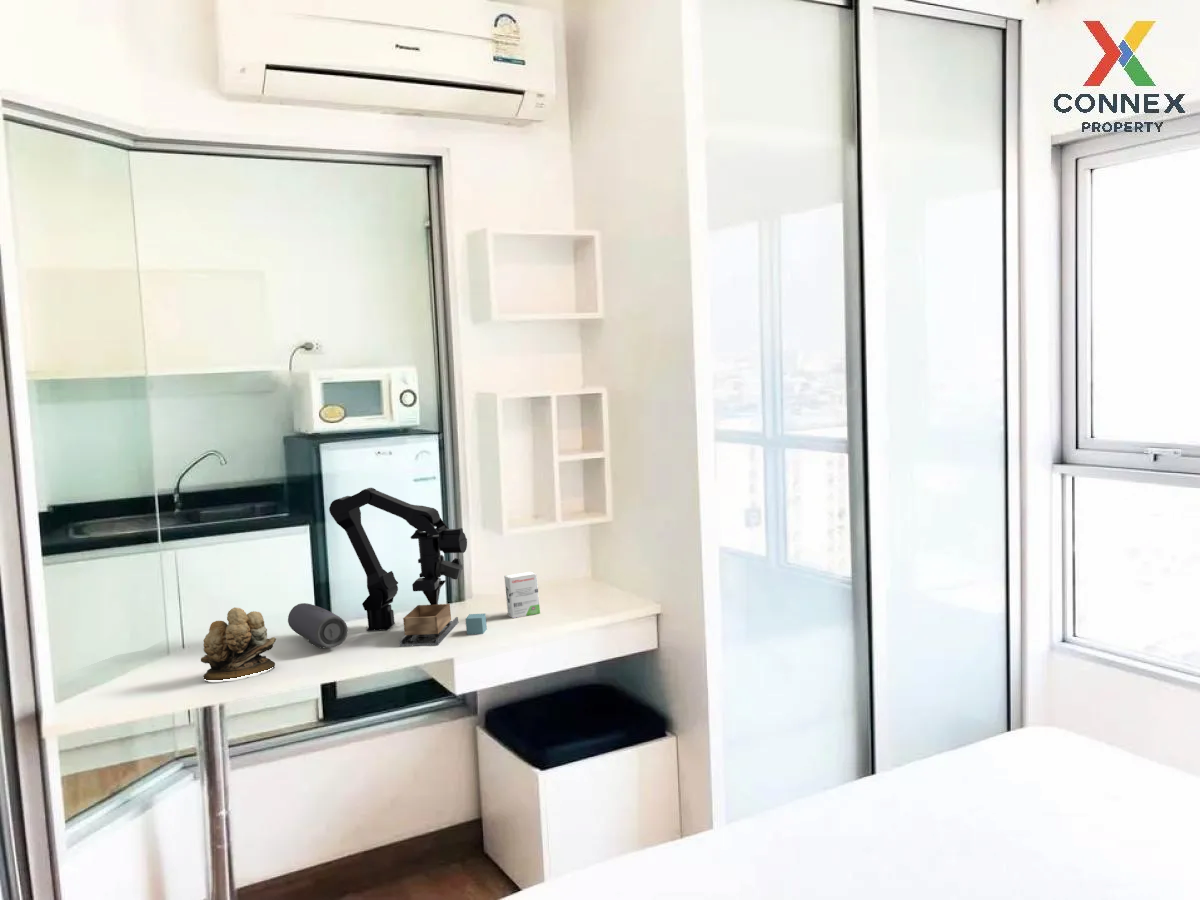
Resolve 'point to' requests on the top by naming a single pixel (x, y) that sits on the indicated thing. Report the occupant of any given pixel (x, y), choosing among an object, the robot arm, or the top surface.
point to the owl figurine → (237, 646)
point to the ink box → (522, 594)
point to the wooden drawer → (427, 620)
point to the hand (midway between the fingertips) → (435, 608)
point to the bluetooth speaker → (317, 625)
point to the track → (428, 637)
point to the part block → (476, 624)
